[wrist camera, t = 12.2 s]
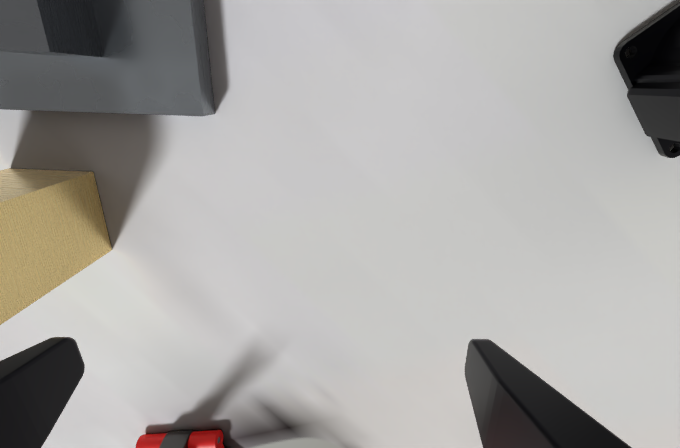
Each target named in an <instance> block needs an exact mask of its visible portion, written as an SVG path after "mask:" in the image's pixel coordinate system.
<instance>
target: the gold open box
mask: <svg viewBox="0 0 680 448" xmlns="http://www.w3.org/2000/svg"><path fill="white" fill-rule="evenodd" d="M111 250H112V248H111V243H110V239H109V235H108V231H107V227H106V223H105V219H104V214H103V210H102V206H101V202H100V198H99V194H98V190H97V185H96V181H95V177H94V173H93V172H85V171H61V170H36V169H11V168H9V169H5V170H1V171H0V325H1V324H2V323H4V322H5V321H7V320H8V319H10V318H11V317H13V316H14V315H16V314H17V313H19V312H20V311H22V310H23V309H25V308H26V307H28V306H29V305H31V304H32V303H34V302H35V301H37V300H38V299H40V298H41V297H43V296H44V295H45V294H47V293H48V292H50V291H51V290H53V289H54V288H56V287H57V286H59V285H60V284H62V283H63V282H65V281H66V280H68V279H69V278H71V277H72V276H74V275H75V274H77V273H78V272H80V271H81V270H83V269H84V268H86V267H87V266H89V265H90V264H92V263H93V262H95V261H96V260H98V259H99V258H101V257H102V256H104V255H105V254H107V253H108V252H110V251H111Z"/></svg>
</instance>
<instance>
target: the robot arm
mask: <svg viewBox="0 0 680 448" xmlns="http://www.w3.org/2000/svg"><path fill="white" fill-rule="evenodd" d="M628 48H630V50H631V53H630V55H629V56H628V57H626V56H625V52H626V50H627V49H628ZM613 57H614V61H615V63H616V65H617V67H618V69H619V71H620V73H621V76H622V78H623V80H624V82H625V84H626V86H627V88H628V93H627V97H628V99H629V101H630V103H631V105H632V107H633V109H634V111H635V113H636V116H637V118H638V120H639V122H640V124H641V126H642V128H643V130H644V132H645V134H646V135H647V136H650V137H651V138H652V140H653V142H654V144H655V147H656V149H657V151H658V153H659V154H660V155H662V156H665V157H669V158H675V157H677V156H679V155H680V2H679V3H678V4H676V5H675V6H673V7H672V8H671V9H669V10H668V11H666V12H665V13H663V14H662V15H661V16H659V17H658V18H656V19H655V20H653V21H652V22H651V23H649V24H648V25H646V26H645V27H644V28H642V29H641V30H639V31H638V32H636V33H635V34H634V35H632V36H631V37H629V38H628V39H626V40H625V41H624V42H622V43H621V44H620V45H619V46H617V48H616V49H615V51H614V55H613ZM672 144H674V147H673V149H672V150H671V151H670V147H671V145H672ZM84 368H85V367H84V362H83V359H82V357H81V354H80V351H79V348H78V346H77V343H76V341H75V340H74V339H73V338H70V337H54V338H50V339H48V340H45V341H43V342H41V343H39V344H37V345H34V346H32V347H30V348H28V349H26V350H24V351H21V352H19V353H17V354H15V355H13V356H11V357H8V358H6V359H4V360H2V361H0V448H41V447H42V445H43V444H44V442H45V440H46V439H47V437H48V435H49V434H50V432H51V430H52V428H53V427H54V425H55V423H56V421H57V420H58V418H59V416H60V414H61V413H62V411H63V409H64V408H65V406H66V404H67V402H68V401H69V399H70V397H71V395H72V394H73V392H74V390H75V388H76V387H77V385H78V383H79V381H80V380H81V378H82V376H83V373H84ZM465 378H466V382H467V386H468V390H469V394H470V398H471V402H472V406H473V410H474V414H475V418H476V422H477V426H478V429H479V433H480V437H481V441H482V445H483V448H631V447H630V446H629V445H628V444H626V443H625V442H624V441H622V440H621V439H620V438H618V437H617V436H616V435H614V434H613V433H612V432H610V431H609V430H608V429H606V428H605V427H604V426H603V425H601V424H600V423H599V422H597V421H596V420H595V419H593V418H592V417H591V416H589V415H588V414H587V413H585V412H584V411H583V410H582V409H580V408H579V407H578V406H576V405H575V404H574V403H572V402H571V401H570V400H568V399H567V398H566V397H564V396H563V395H562V394H561V393H559V392H558V391H557V390H555V389H554V388H553V387H551V386H550V385H549V384H547V383H546V382H545V381H543V380H542V379H541V378H540V377H538V376H537V375H536V374H534V373H533V372H532V371H530V370H529V369H528V368H526V367H525V366H524V365H522V364H521V363H520V362H519V361H517V360H516V359H515V358H513V357H512V356H511V355H509V354H508V353H507V352H505V351H504V350H503V349H501V348H500V347H499V346H498V345H496V344H495V343H494V342H492V341H491V340H488V339H472V340H471V341H470V342H469V345H468V350H467V357H466V363H465Z"/></svg>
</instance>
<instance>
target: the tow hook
mask: <svg viewBox="0 0 680 448" xmlns="http://www.w3.org/2000/svg"><path fill="white" fill-rule="evenodd" d="M136 448H224V446H223V432H222V430H210V431H194V430H186V431H171V432H168V433H162V434H146V435H142V436H140V438H139V439H138V441H137V444H136Z"/></svg>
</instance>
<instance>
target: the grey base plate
mask: <svg viewBox="0 0 680 448" xmlns="http://www.w3.org/2000/svg"><path fill="white" fill-rule="evenodd" d="M0 109H10V110H39V111H68V112H97V113H126V114H155V115H184V116H206V115H211V114H215V110H214V100H213V91H212V81H211V71H210V61H209V51H208V41H207V31H206V22H205V12H204V2H203V0H0Z"/></svg>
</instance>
